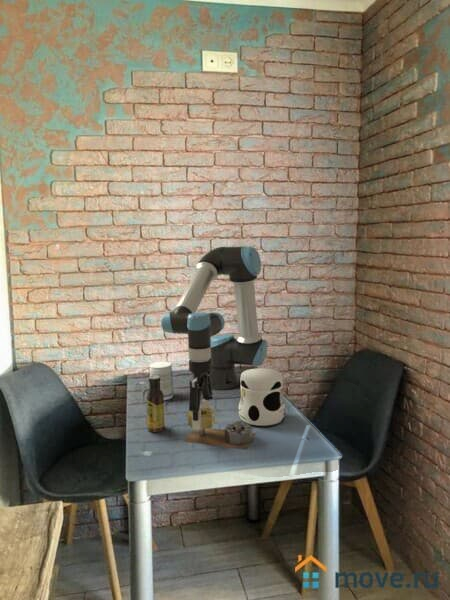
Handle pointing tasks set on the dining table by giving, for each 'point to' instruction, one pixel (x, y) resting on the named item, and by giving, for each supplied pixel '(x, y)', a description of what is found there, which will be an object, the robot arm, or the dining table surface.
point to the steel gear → (238, 434)
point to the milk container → (261, 397)
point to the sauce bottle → (155, 405)
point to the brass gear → (204, 418)
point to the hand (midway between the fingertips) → (201, 423)
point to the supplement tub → (164, 377)
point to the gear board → (214, 437)
